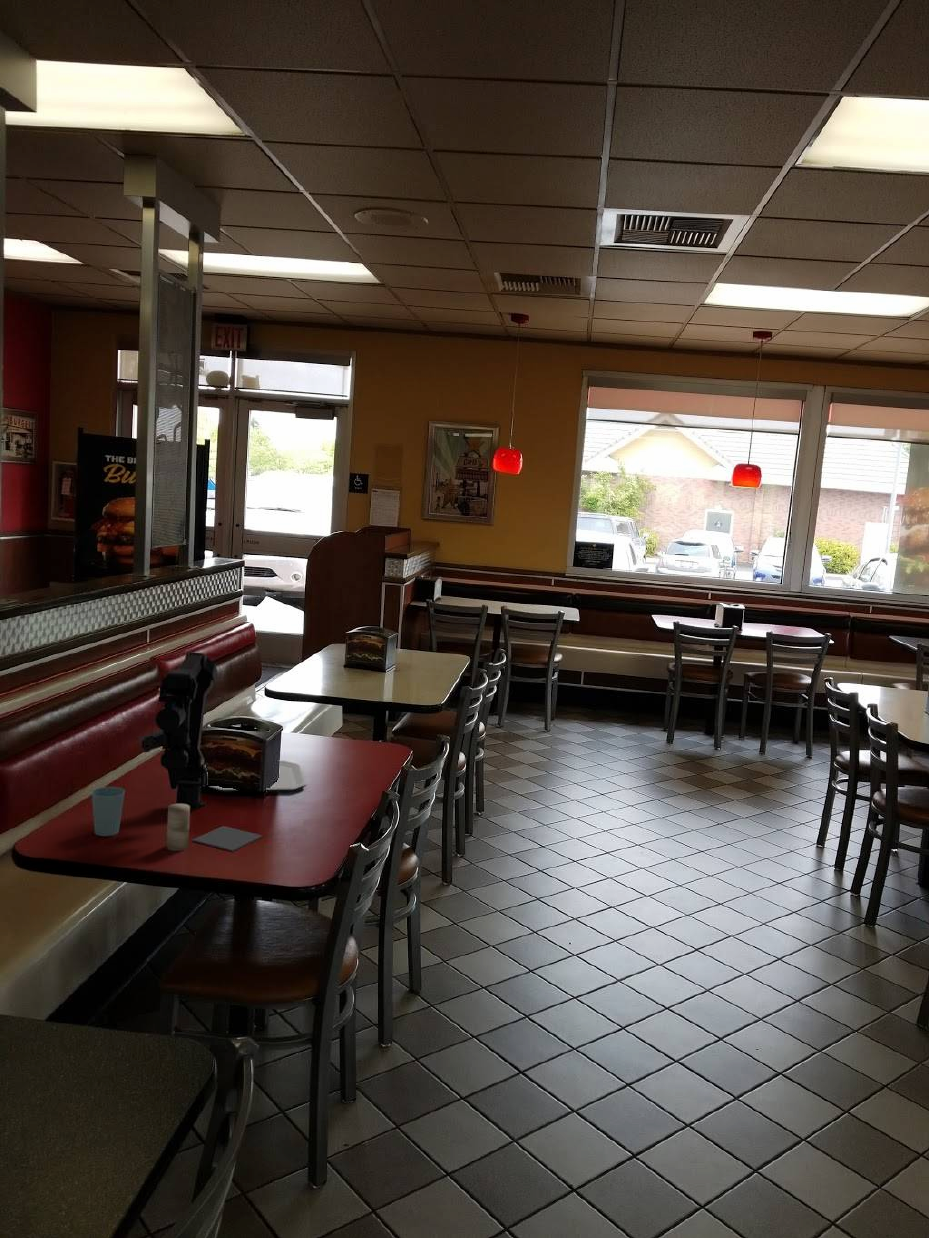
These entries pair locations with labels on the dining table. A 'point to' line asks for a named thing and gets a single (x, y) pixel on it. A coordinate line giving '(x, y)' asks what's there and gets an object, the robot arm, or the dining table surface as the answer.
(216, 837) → the placemat
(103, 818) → the cup
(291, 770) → the plate
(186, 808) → the beige cylinder
